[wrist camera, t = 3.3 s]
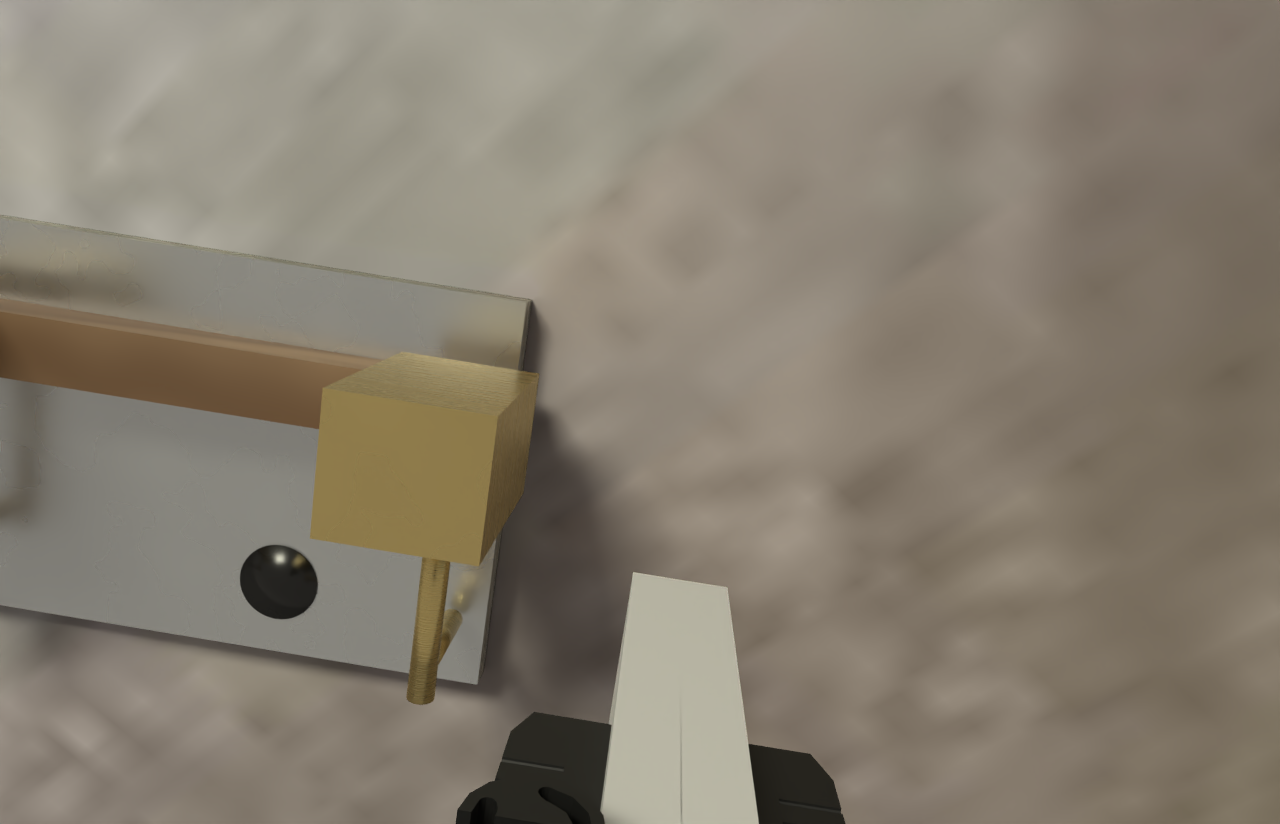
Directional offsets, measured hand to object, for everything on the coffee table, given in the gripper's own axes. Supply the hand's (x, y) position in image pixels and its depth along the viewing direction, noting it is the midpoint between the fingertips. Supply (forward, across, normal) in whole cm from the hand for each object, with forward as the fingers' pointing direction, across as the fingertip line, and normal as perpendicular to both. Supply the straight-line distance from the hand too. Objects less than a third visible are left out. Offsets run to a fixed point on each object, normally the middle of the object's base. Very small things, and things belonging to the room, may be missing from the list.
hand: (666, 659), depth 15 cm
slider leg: (+14, -6, -3) cm, 16 cm away
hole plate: (+16, -16, -3) cm, 23 cm away
